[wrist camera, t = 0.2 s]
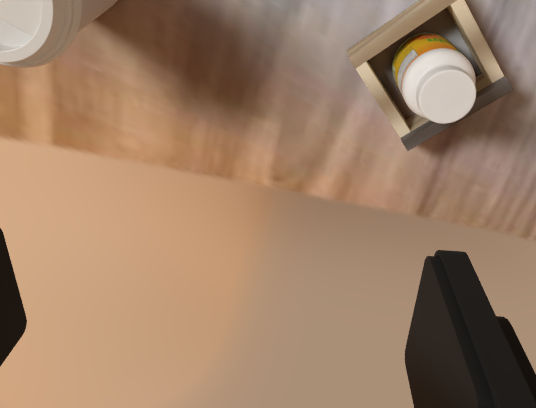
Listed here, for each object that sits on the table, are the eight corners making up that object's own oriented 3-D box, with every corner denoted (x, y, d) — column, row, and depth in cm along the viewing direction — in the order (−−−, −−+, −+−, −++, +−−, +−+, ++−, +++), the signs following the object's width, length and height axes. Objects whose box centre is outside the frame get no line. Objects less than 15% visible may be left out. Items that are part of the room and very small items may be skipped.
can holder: (347, 50, 44) (349, 61, 40) (447, -20, 40) (459, -14, 37) (401, 133, 47) (407, 150, 44) (497, 76, 44) (513, 89, 40)
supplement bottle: (466, 47, 43) (503, 79, 35) (431, 102, 46) (458, 144, 37) (412, 20, 42) (436, 46, 34) (379, 77, 45) (394, 114, 36)
